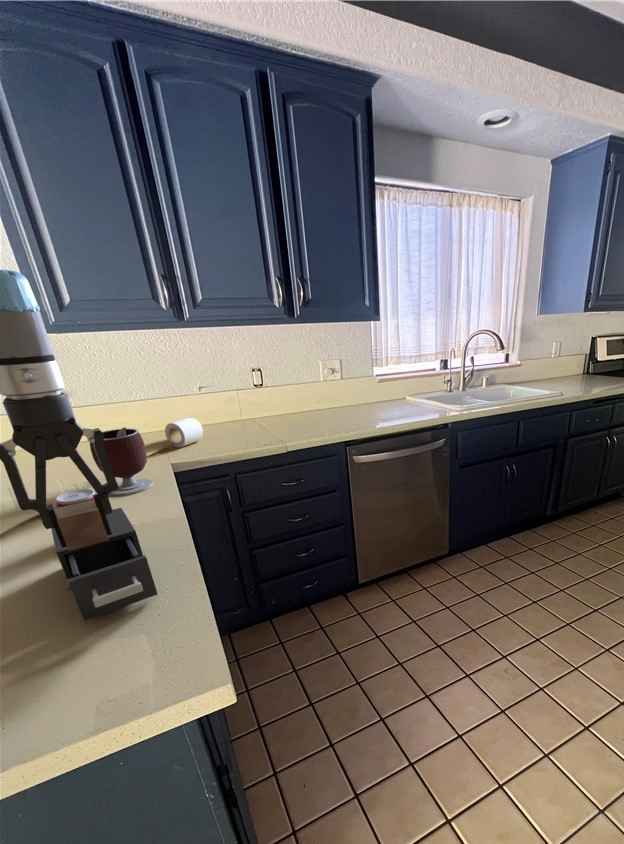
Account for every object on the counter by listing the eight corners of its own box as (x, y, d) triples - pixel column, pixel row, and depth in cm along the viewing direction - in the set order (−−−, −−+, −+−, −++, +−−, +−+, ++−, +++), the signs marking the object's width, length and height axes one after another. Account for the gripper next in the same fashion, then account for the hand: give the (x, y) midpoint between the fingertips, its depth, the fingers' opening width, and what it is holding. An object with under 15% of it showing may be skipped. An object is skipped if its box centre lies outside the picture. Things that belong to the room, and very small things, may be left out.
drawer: (164, 606, 75) (152, 568, 72) (87, 636, 69) (71, 595, 65) (141, 565, 88) (130, 531, 85) (75, 586, 82) (60, 550, 78)
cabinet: (148, 572, 87) (135, 530, 83) (74, 597, 80) (56, 552, 76) (133, 546, 98) (121, 507, 94) (67, 566, 91) (50, 525, 87)
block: (68, 551, 67) (56, 519, 65) (66, 538, 71) (54, 508, 69) (108, 540, 70) (98, 509, 68) (104, 528, 74) (94, 499, 72)
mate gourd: (97, 490, 131) (75, 426, 123) (142, 477, 141) (125, 416, 133) (119, 501, 123) (97, 433, 114) (166, 486, 133) (149, 422, 124)
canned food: (95, 527, 107) (81, 486, 103) (116, 533, 104) (102, 491, 99) (64, 541, 101) (47, 498, 97) (84, 547, 98) (68, 503, 93)
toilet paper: (186, 440, 183) (181, 416, 179) (205, 441, 180) (200, 418, 175) (168, 446, 175) (162, 422, 170) (187, 448, 171) (181, 423, 167)
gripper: (-58, 407, 53) (16, 566, 63) (112, 389, 63) (152, 528, 73) (-50, 399, 58) (16, 547, 68) (105, 384, 68) (143, 514, 78)
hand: (86, 537), depth 70 cm, fingers closed on block, 5 cm apart
